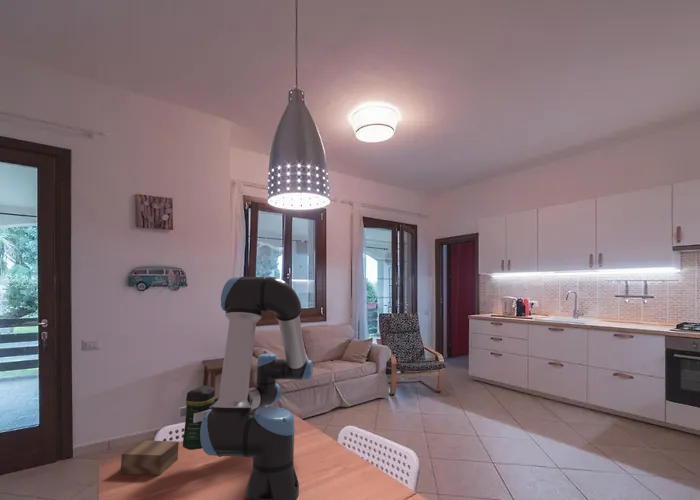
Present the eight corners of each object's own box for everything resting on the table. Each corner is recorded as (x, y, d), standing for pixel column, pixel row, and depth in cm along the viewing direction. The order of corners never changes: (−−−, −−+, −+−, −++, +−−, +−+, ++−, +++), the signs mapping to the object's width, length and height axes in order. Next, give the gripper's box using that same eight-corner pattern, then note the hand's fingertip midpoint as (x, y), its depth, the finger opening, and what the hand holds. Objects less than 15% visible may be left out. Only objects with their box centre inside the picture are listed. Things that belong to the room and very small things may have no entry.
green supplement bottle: (201, 451, 117) (205, 391, 119) (178, 450, 118) (182, 390, 120) (216, 440, 127) (219, 384, 129) (194, 438, 128) (197, 383, 130)
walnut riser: (177, 459, 128) (178, 441, 129) (159, 475, 117) (160, 455, 118) (141, 458, 129) (142, 440, 129) (120, 473, 118) (121, 454, 119)
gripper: (262, 416, 131) (203, 435, 113) (227, 405, 144) (169, 420, 126) (263, 394, 132) (205, 409, 114) (228, 385, 145) (171, 397, 127)
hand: (186, 415), depth 120 cm, fingers closed on green supplement bottle, 9 cm apart
